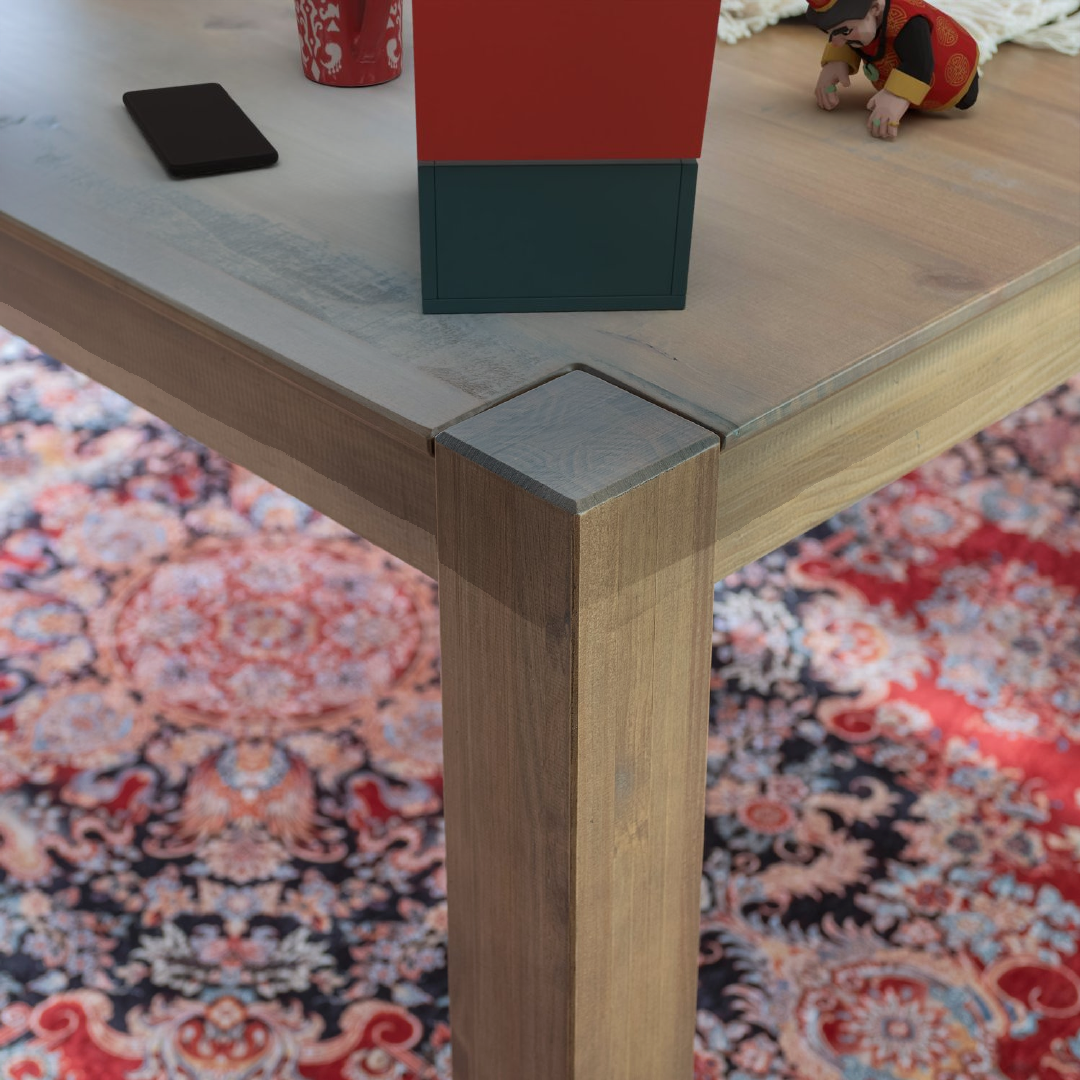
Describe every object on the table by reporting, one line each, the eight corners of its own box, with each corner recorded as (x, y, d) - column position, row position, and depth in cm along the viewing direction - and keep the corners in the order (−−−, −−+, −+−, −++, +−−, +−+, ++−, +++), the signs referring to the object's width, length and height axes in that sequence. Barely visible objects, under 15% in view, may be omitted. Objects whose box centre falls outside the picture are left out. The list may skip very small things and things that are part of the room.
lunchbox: (419, 189, 83) (415, 59, 79) (640, 187, 84) (649, 58, 80) (422, 314, 70) (417, 166, 65) (685, 309, 71) (698, 163, 66)
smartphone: (219, 81, 96) (281, 152, 85) (220, 92, 97) (282, 166, 86) (119, 91, 94) (169, 167, 83) (121, 103, 94) (171, 180, 83)
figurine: (860, 144, 102) (722, 67, 93) (920, 20, 100) (785, -72, 91) (952, 177, 95) (813, 97, 86) (1020, 43, 93) (885, -54, 83)
